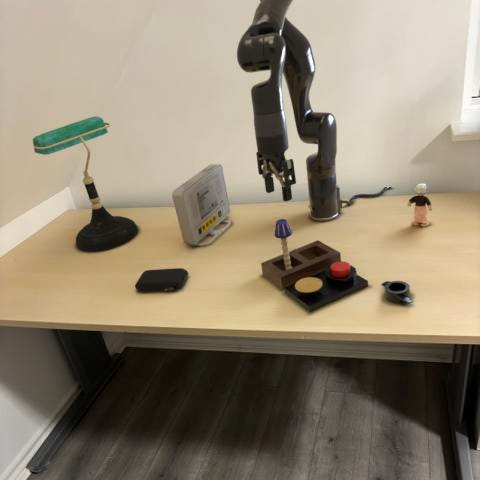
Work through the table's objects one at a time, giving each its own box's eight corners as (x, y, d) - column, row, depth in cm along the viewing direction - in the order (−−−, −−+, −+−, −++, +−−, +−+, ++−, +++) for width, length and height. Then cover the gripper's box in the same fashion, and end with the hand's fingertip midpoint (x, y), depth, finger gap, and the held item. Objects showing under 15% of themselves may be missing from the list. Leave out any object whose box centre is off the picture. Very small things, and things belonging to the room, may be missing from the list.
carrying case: (133, 296, 145) (181, 293, 141) (130, 287, 143) (178, 284, 140) (145, 277, 153) (190, 274, 150) (142, 268, 152) (188, 265, 148)
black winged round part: (412, 285, 126) (413, 276, 124) (414, 308, 118) (414, 298, 116) (381, 286, 128) (380, 276, 126) (380, 308, 120) (380, 298, 119)
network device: (217, 216, 183) (206, 162, 172) (238, 217, 179) (228, 162, 168) (180, 249, 165) (165, 191, 154) (202, 251, 161) (188, 192, 150)
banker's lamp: (120, 217, 198) (86, 112, 176) (154, 228, 183) (122, 115, 161) (61, 245, 184) (16, 135, 162) (93, 260, 170) (48, 140, 147)
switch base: (339, 269, 138) (339, 258, 136) (368, 286, 129) (367, 274, 127) (284, 293, 133) (283, 281, 131) (310, 312, 124) (308, 300, 122)
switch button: (342, 266, 133) (342, 259, 132) (354, 273, 129) (354, 266, 128) (327, 272, 132) (326, 266, 131) (338, 279, 128) (338, 273, 127)
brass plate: (312, 275, 131) (312, 274, 131) (328, 285, 126) (328, 284, 126) (289, 284, 129) (289, 284, 129) (304, 295, 124) (304, 294, 124)
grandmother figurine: (434, 222, 152) (436, 182, 145) (430, 227, 149) (433, 187, 142) (408, 220, 156) (409, 180, 149) (404, 225, 153) (405, 185, 146)
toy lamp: (277, 279, 139) (270, 224, 130) (284, 270, 143) (277, 216, 133) (293, 280, 137) (286, 225, 128) (299, 272, 140) (293, 217, 131)
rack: (262, 275, 142) (260, 263, 140) (318, 252, 148) (317, 240, 146) (282, 290, 134) (280, 277, 132) (341, 265, 140) (340, 252, 138)
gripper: (300, 131, 113) (306, 198, 122) (269, 122, 124) (277, 185, 133) (272, 140, 111) (280, 208, 120) (243, 130, 122) (252, 193, 131)
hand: (278, 196), depth 127 cm, fingers open, 8 cm apart
